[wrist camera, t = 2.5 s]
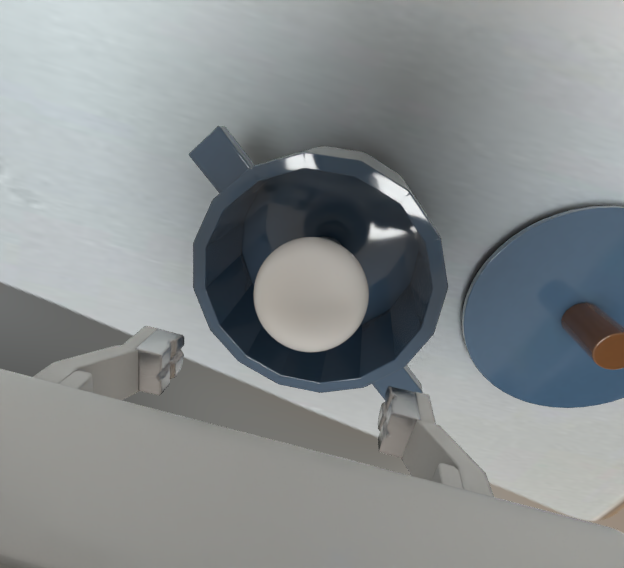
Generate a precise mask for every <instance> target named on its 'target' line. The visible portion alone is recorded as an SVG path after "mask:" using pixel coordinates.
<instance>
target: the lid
mask: <svg viewBox="0 0 624 568" xmlns="http://www.w3.org/2000/svg"><path fill="white" fill-rule="evenodd" d="M462 332H463V337H464V341H465V345H466V347H467V350H468V352H469V355H470V357H471V359H472V361H473V362H474V364H475V366H476V367H477V369H478V370H479V371H480V372H481V373H482V375H483V376H484V377H485V378H486V379H487V380H488V381H490V382H491V383H492V384H493V385H494V386H496V387H497V388H499V389H500V390H502V391H503V392H505V393H507V394H509V395H511V396H513V397H515V398H518V399H520V400H523V401H526V402H529V403H533V404H537V405H542V406H549V407H560V408H575V407H587V406H594V405H600V404H604V403H608V402H612V401H615V400H618V399H621V398H624V207H621V206H592V207H585V208H579V209H574V210H570V211H566V212H562V213H558V214H556V215H553V216H550V217H548V218H545V219H543V220H540V221H538V222H536V223H534V224H532V225H530V226H528V227H526V228H525V229H523V230H522V231H520V232H519V233H517V234H516V235H514V236H512V237H511V238H510V239H509V240H507V241H506V242H505V243H504V244H502V245H501V246H500V247H499V248H498V249H497V250H496V251H495V252H494V253H493V254H492V255H491V256H490V257H489V258H488V259H487V260H486V262H485V263H484V264H483V266H482V267H481V268H480V270H479V271H478V273H477V274H476V276H475V278H474V280H473V281H472V283H471V285H470V288H469V290H468V293H467V295H466V299H465V303H464V306H463V314H462Z"/></svg>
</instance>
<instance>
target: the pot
mask: <svg viewBox="0 0 624 568" xmlns="http://www.w3.org/2000/svg"><path fill="white" fill-rule="evenodd" d="M189 156H190V157H191V158H192V160H193V161H194V162H195V163H196V165H197V166H198V167H199V168H200V170H201V171H202V172H203V173H204V175H205V176H206V177H207V178H208V180H209V181H210V182H211V183H212V185H213V186H214V187H215V188H216V190H217V191H218V192H219V193H220V194H219V195H218V196H216V197H215V198H214V199H213V200H212V202H211V204H210V207H209V209H208V211H207V213H206V216H205V218H204V220H203V222H202V224H201V227H200V229H199V231H198V233H197V236H196V238H195V240H194V244H193V288H194V291H195V294H196V296H197V299H198V301H199V304H200V306H201V308H202V311H203V313H204V316H205V318H206V321H207V323H208V326H209V328H210V330H211V331H212V332H213V334H214V335H215V336H216V337H217V338H218V339H219V340H220V341H221V342H222V344H223V345H224V346H225V347H226V348H227V349H228V350H229V351H230V353H231V354H232V355H233V356H234V357H235V358H236V359H237V360H238V361H239V362H240V363H242V364H244V365H246V366H247V367H249V368H251V369H253V370H254V371H256V372H258V373H260V374H261V375H263V376H265V377H267V378H268V379H270V380H272V381H274V382H275V383H278V384H280V385H285V386H290V387H295V388H300V389H304V390H309V391H314V392H319V393H320V392H321V393H322V392H331V391H339V390H347V389H356V388H364V387H366V386H368V385H370V384H373V386H374V387H375V388H376V389H377V391H378V392H379V393H380V394H381V396H382V397H383V398H384V399H385V393H386V390H387V388H388V386H391V387H395V388H400V389H404V390H408V391H412V392H419V393H423V392H422V387H421V383H420V382H419V380H418V379H417V378H416V376H415V375H414V374H413V372H412V371H411V370H410V369H409V367H408V366H407V364H408V363H409V361H410V360H411V359H412V358H413V357H414V356H415V355H416V353H417V352H418V351H419V350H420V349H421V348H422V347H423V346H424V344H425V343H426V342H427V341H428V340H429V339H430V338H431V336H432V335H433V334H434V332H435V329H436V326H437V322H438V319H439V316H440V312H441V309H442V306H443V303H444V299H445V296H446V293H447V290H448V283H447V277H446V270H445V263H444V256H443V249H442V243H441V238H440V235H439V234H438V232H437V231H436V229H435V227H434V226H433V224H432V223H431V221H430V219H429V218H428V216H427V214H426V213H425V211H424V210H423V208H422V206H421V205H420V203H419V202H418V200H417V199H416V197H415V196H414V194H413V193H412V191H411V190H410V188H409V187H408V185H407V184H406V182H405V181H404V179H403V178H402V176H401V175H400V174H398V173H396V172H395V171H393V170H392V169H390V168H389V167H387V166H386V165H384V164H383V163H381V162H379V161H378V160H376V159H374V158H373V157H371V156H370V155H368V154H367V153H365V152H360V151H354V150H347V149H341V148H333V147H327V146H319V147H315V148H312V149H308V150H304V151H301V152H297V153H294V154H290V155H287V156H283V157H280V158H277V159H274V160H270V161H267V162H264V163H261V164H258V165H254V164H253V162H252V161H251V160H250V158H249V157H248V156H247V154H246V153H245V152H244V150H243V149H242V148H241V146H240V145H239V144H238V143H237V141H236V140H235V139H234V137H233V136H232V135H231V133H230V132H229V131H228V129H227V128H226V127H225V126H218V127H217V128H216V129H215V130H213V131H212V132H211V133H210V134H209V135H208V136H207V137H206V138H205V139H204V140H203V141H202V142H201V143H200V144H199V145H198V146H197V147H196V148H195V149H193V150H192V151H191V152H190V153H189ZM302 237H331V238H334V239H336V240H337V241H338V242H339V243H340V244H341V245H342V246H343V247H345V248H346V249H347V250H348V251H350V252H351V253H352V254H353V255H354V256H355V258H356V259H357V260H358V262H359V263H360V265H361V266H362V268H363V270H364V273H365V275H366V278H367V282H368V288H369V301H368V307H367V311H366V314H365V316H364V319H363V321H362V323H361V325H360V326H359V328H358V329H357V330H356V332H355V333H354V334H353V335H352V336H351V337H350V338H349V339H348V340H346V341H345V342H344V343H342V344H340V345H339V346H337V347H334V348H332V349H329V350H326V351H321V352H301V351H296V350H293V349H290V348H288V347H286V346H284V345H282V344H280V343H279V342H277V341H276V340H275V339H273V338H272V337H271V336H270V335H269V334H268V333H267V331H266V330H265V329H264V327H263V326H262V324H261V323H260V321H259V319H258V316H257V313H256V310H255V306H254V299H253V291H254V283H255V279H256V276H257V273H258V271H259V269H260V267H261V265H262V263H263V262H264V260H265V259H266V258H267V257H268V256H269V255H270V254H271V253H272V252H273V251H274V250H275V249H276V248H278V247H279V246H281V245H282V244H284V243H286V242H288V241H291V240H294V239H297V238H302Z"/></svg>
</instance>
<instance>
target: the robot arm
mask: <svg viewBox="0 0 624 568" xmlns="http://www.w3.org/2000/svg"><path fill="white" fill-rule="evenodd" d="M183 346H184V336H183V335H180V334H177V333H173V332H169V331H166V330H162V329H158V328H154V327H150V326H145V327H143V328H142V329H141V330H140V331H139V332H137V333H136V334H135V335H134V336H133V337H131V338H130V339H129V340H128V341H127V342H125V343H124V344H123V345H122V346H119V345H116V346H113V347H109V348H105V349H101V350H98V351H94V352H91V353H86V354H83V355H79V356H75V357H72V358H68V359H64V360H60V361H57V362H54V363H52V364H50V365H49V366H48V367H46V368H45V369H43V370H42V371H41V372H39V373H38V374H36V375H35V376H34V377H30V376H26V375H22V374H18V373H14V372H10V371H7V370H2V369H0V568H624V533H622V532H620V531H618V530H616V529H613V528H610V527H607V526H603V525H599V524H595V523H592V522H588V521H584V520H580V519H576V518H572V517H569V516H565V515H561V514H557V513H552V512H549V511H545V510H541V509H537V508H533V507H530V506H526V505H522V504H518V503H514V502H510V501H506V500H502V499H499V498H495V497H494V496H493V493H492V490H491V487H490V484H489V481H488V478H487V475H486V473H485V472H484V471H483V470H482V469H481V468H480V467H479V466H478V465H477V464H476V463H475V462H474V461H473V460H472V459H471V458H470V457H469V456H468V454H467V453H466V452H465V451H464V450H463V449H462V448H461V447H460V446H459V445H458V444H457V443H456V442H455V441H454V440H453V439H452V438H451V437H450V436H449V435H448V434H447V433H446V432H445V431H444V430H443V429H442V427H441V426H439V425H436V423H435V419H434V414H433V410H432V406H431V401H430V397H429V395H428V394H423V393H419V392H412V391H408V390H404V389H400V388H395V387H391V386H388V388H387V390H386V393H385V402H384V403H382V405H381V409H380V413H379V418H378V429H379V431H380V434H379V437H378V445H379V452H381V453H384V454H388V455H391V456H395V457H398V458H402V461H403V463H404V464H405V466H406V468H407V469H408V471H409V472H410V474H411V476H410V475H406V474H403V473H399V472H395V471H391V470H388V469H384V468H380V467H376V466H372V465H368V464H364V463H360V462H357V461H353V460H349V459H345V458H341V457H338V456H334V455H330V454H326V453H322V452H318V451H315V450H310V449H307V448H303V447H299V446H295V445H291V444H287V443H283V442H280V441H276V440H272V439H268V438H264V437H260V436H257V435H253V434H249V433H245V432H241V431H238V430H234V429H230V428H226V427H222V426H218V425H214V424H211V423H206V422H203V421H199V420H195V419H191V418H188V417H184V416H179V415H176V414H172V413H168V412H164V411H160V410H156V409H153V408H149V407H145V406H141V405H138V404H133V403H130V402H126V401H122V400H123V399H125V398H127V397H129V396H131V395H133V394H135V393H137V392H138V391H142V392H146V393H151V394H155V395H161V394H162V393H163V392H164V390H165V389H166V388H167V387H168V385H169V380H170V379H172V378H174V377H176V375H177V374H178V373H179V371H180V369H181V366H182V363H183V356H184V354H183V352H182V351H181V348H182V347H183Z"/></svg>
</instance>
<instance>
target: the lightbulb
mask: <svg viewBox="0 0 624 568" xmlns="http://www.w3.org/2000/svg"><path fill="white" fill-rule="evenodd" d="M253 299H254V306H255V310H256V313H257V316H258V319H259V321H260V323H261V324H262V326H263V327H264V329H265V330H266V331H267V333H268V334H269V335H270V336H271V337H272V338H273V339H275V340H276V341H277V342H279V343H280V344H282V345H284V346H286V347H288V348H290V349H293V350H296V351H301V352H321V351H326V350H329V349H332V348H334V347H337V346H339V345H340V344H342V343H344V342H345V341H346V340H348V339H349V338H350V337H351V336H352V335H353V334H354V333H355V332H356V330H357V329H358V328H359V326H360V325H361V323H362V321H363V319H364V316H365V314H366V311H367V307H368V301H369V288H368V282H367V278H366V275H365V273H364V270H363V268H362V266H361V265H360V263H359V262H358V260H357V259H356V258H355V256H354V255H353V254H352V253H351V252H350V251H348V250H347V249H346V248H345V247H343V246H342V245H341V244H340V243H339V242H338V241H337V240H336V239H334V238H331V237H302V238H297V239H294V240H291V241H288V242H286V243H284V244H282V245H281V246H279V247H278V248H276V249H275V250H274V251H273V252H272V253H271V254H270V255H269V256H268V257H267V258H266V259H265V260H264V262H263V263H262V265H261V267H260V269H259V271H258V273H257V276H256V279H255V283H254V291H253Z"/></svg>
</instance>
